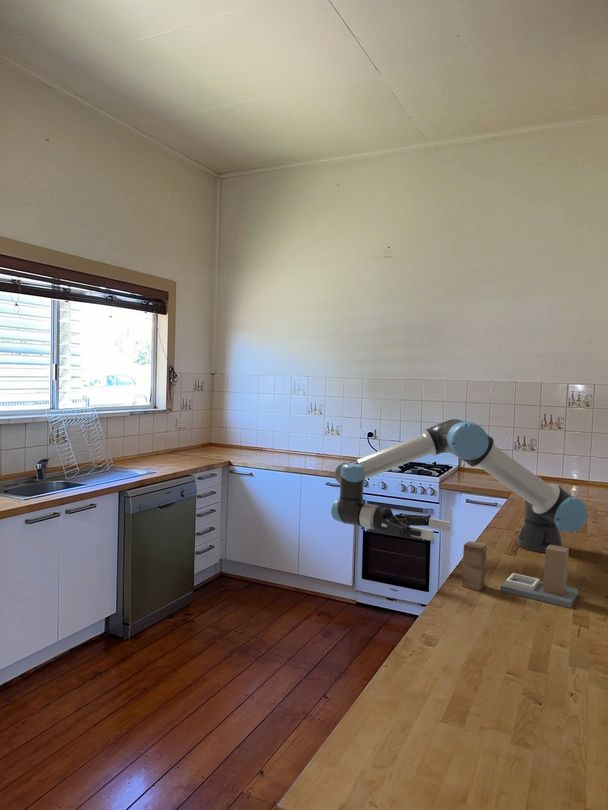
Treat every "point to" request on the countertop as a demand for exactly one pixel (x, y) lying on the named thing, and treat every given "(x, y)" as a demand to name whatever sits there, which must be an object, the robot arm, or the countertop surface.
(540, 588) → the baseplate
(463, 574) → the pillar
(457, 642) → the countertop surface
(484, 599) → the countertop surface
